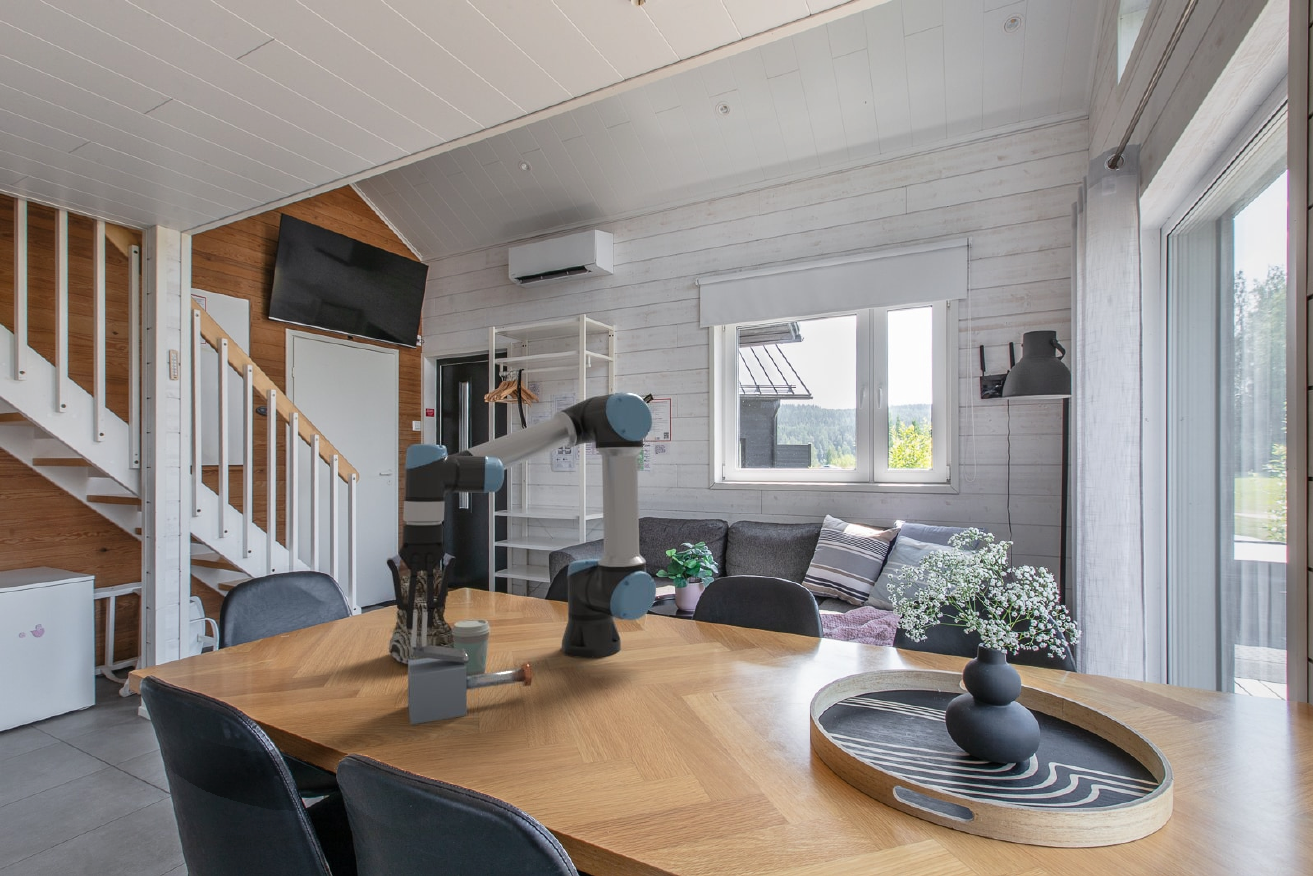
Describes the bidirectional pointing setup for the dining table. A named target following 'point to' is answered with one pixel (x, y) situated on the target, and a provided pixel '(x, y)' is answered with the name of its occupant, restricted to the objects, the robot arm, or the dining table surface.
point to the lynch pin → (501, 678)
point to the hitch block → (436, 690)
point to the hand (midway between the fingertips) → (418, 644)
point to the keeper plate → (440, 653)
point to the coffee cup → (472, 643)
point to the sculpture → (420, 620)
